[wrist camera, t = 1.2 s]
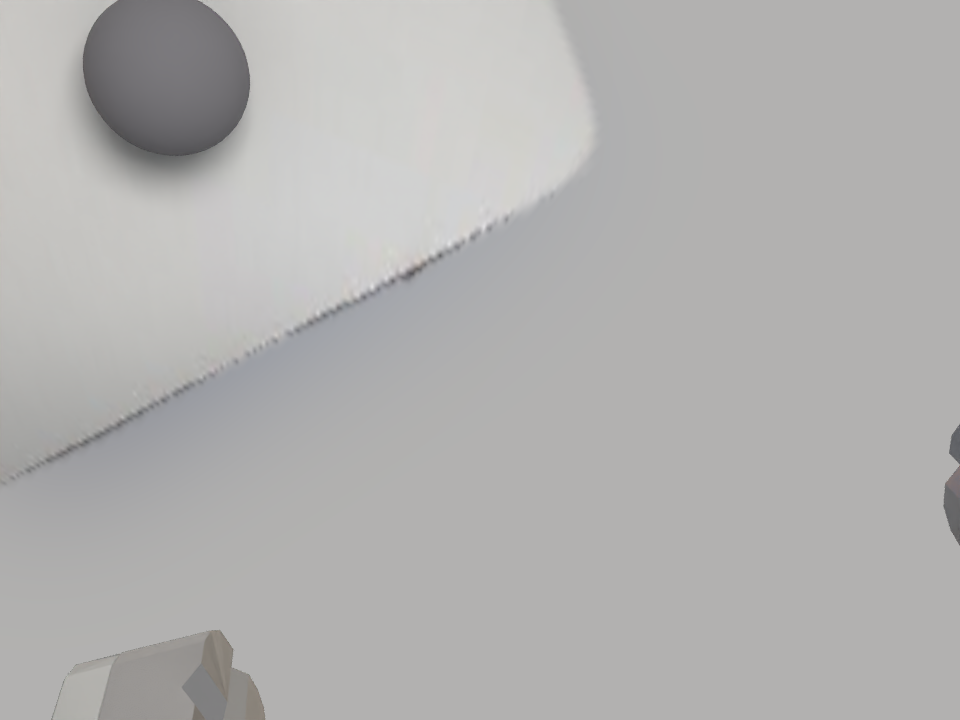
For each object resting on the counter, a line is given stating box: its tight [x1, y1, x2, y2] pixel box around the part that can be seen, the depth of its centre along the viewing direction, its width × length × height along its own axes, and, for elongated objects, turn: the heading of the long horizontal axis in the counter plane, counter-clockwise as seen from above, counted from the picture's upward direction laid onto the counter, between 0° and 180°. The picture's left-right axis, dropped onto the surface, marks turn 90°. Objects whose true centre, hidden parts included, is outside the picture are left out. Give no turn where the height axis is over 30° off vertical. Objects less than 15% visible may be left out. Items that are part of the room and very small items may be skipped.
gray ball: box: [83, 0, 250, 156], centre depth 27 cm, size 5×5×5 cm
